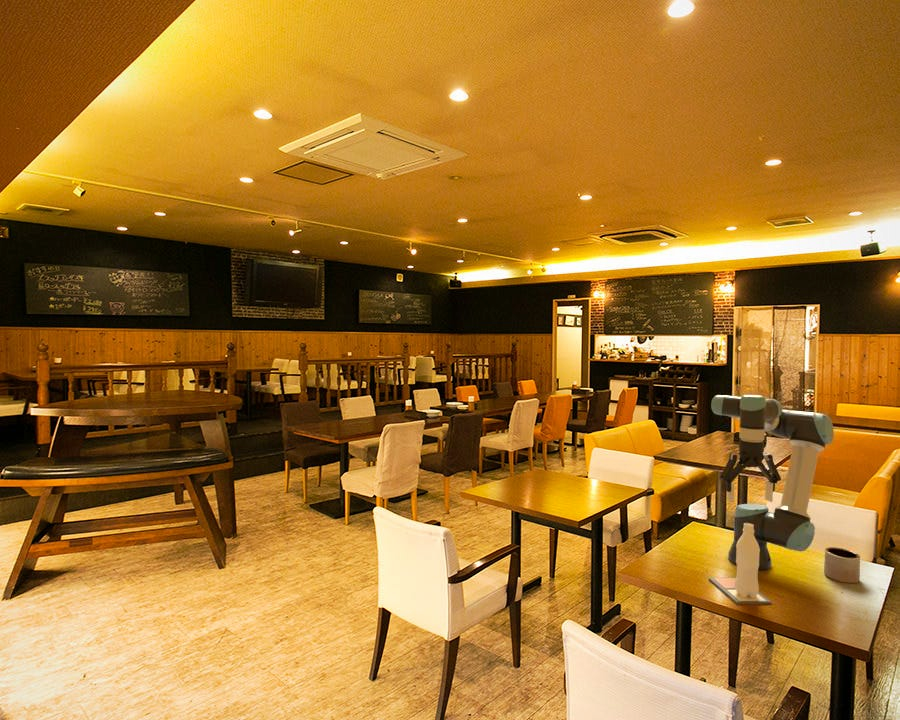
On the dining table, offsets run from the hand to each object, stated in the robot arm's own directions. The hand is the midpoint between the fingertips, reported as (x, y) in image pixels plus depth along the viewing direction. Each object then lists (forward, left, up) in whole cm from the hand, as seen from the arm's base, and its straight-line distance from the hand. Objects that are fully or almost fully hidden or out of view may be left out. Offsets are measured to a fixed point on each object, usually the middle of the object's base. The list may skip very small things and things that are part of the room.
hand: (749, 500), depth 180 cm
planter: (-46, -14, -34) cm, 59 cm away
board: (0, -4, -34) cm, 34 cm away
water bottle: (0, 0, -33) cm, 33 cm away
